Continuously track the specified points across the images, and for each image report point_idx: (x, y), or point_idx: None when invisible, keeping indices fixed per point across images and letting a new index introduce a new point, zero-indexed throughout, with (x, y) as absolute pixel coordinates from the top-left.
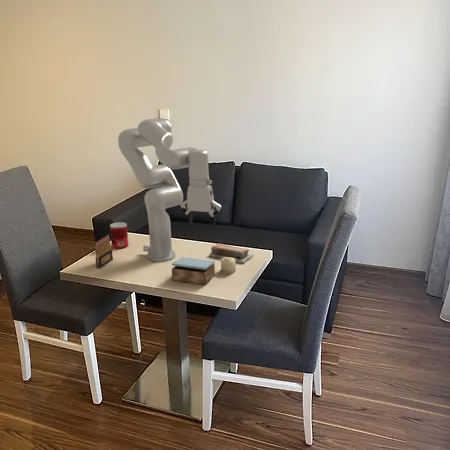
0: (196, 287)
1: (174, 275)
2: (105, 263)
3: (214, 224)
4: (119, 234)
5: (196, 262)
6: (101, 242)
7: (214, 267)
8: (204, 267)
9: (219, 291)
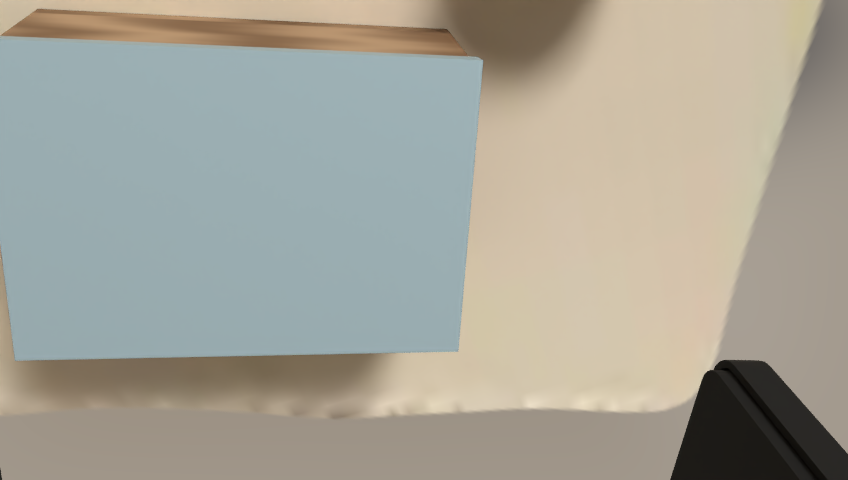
0: None
1: None
2: None
3: (755, 372)
4: None
5: (282, 207)
6: None
7: (464, 54)
8: (443, 350)
9: (565, 325)
